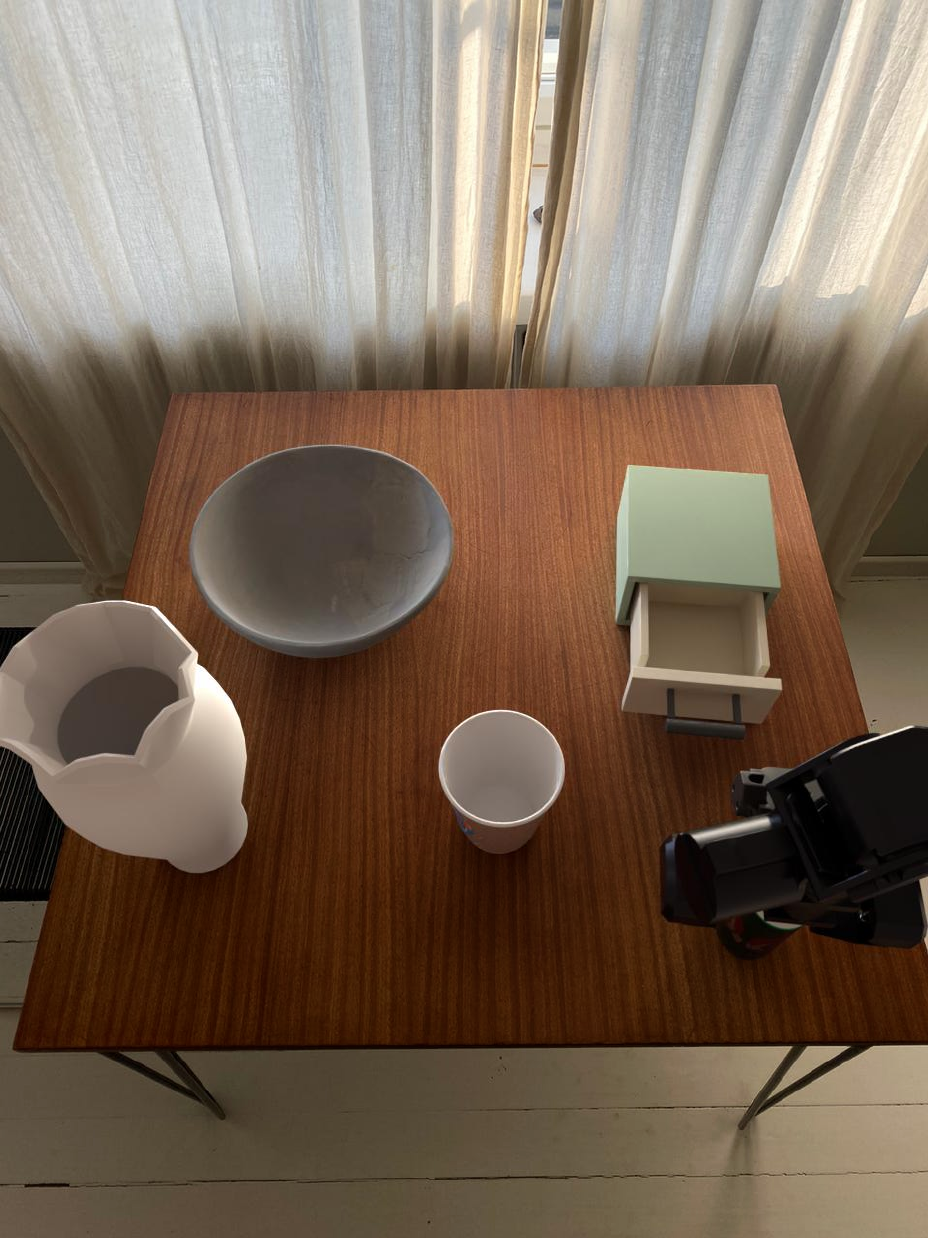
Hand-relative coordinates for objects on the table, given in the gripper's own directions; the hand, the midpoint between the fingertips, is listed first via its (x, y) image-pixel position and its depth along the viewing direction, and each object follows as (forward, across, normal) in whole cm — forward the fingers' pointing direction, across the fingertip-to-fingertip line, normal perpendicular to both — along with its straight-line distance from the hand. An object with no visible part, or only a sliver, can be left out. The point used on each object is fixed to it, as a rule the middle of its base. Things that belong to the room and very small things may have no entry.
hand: (755, 919), depth 72 cm
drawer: (+3, +4, -24) cm, 25 cm away
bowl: (+5, +42, -32) cm, 53 cm away
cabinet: (+4, +4, -38) cm, 38 cm away
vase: (+6, +49, -4) cm, 49 cm away
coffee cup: (+5, +22, -8) cm, 24 cm away
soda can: (+4, 0, 0) cm, 4 cm away
